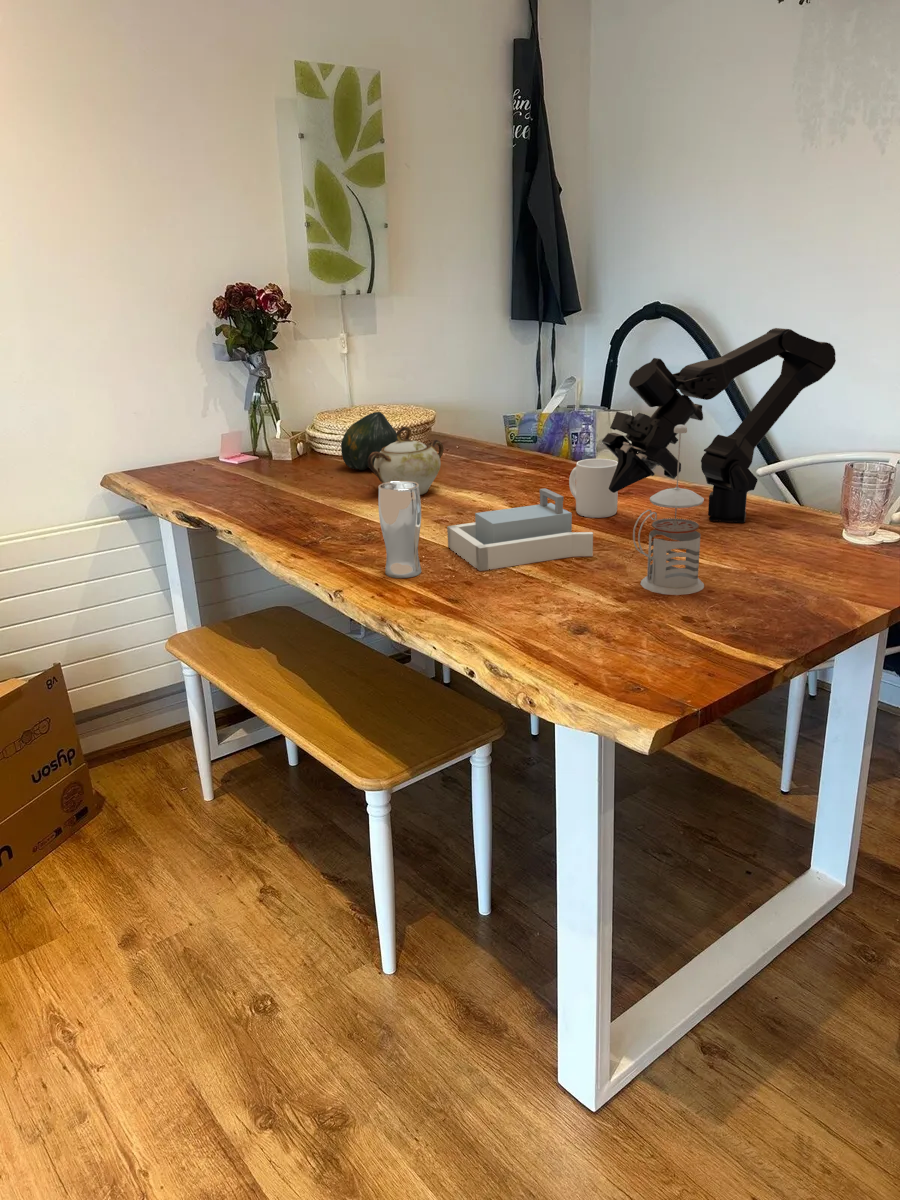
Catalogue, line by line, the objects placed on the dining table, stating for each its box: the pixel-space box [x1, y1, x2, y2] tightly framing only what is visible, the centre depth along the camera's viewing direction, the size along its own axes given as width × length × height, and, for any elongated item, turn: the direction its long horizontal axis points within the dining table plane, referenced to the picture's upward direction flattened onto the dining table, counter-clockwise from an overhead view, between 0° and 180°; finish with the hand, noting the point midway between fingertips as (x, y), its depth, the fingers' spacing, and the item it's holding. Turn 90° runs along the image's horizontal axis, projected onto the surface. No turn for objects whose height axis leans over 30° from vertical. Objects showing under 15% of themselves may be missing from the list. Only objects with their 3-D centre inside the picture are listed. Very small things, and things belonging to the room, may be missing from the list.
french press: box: [632, 424, 705, 596], centre depth 137 cm, size 10×12×25 cm
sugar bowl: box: [368, 426, 444, 496], centre depth 202 cm, size 20×15×15 cm
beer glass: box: [377, 481, 422, 579], centre depth 149 cm, size 7×7×15 cm
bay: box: [446, 521, 594, 572], centre depth 160 cm, size 21×18×4 cm
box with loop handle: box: [474, 488, 573, 545], centre depth 160 cm, size 15×8×10 cm, turn 111°
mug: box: [568, 458, 619, 519], centre depth 182 cm, size 12×8×10 cm
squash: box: [340, 411, 398, 471], centre depth 229 cm, size 14×15×15 cm
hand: (611, 490), depth 164 cm, fingers closed
